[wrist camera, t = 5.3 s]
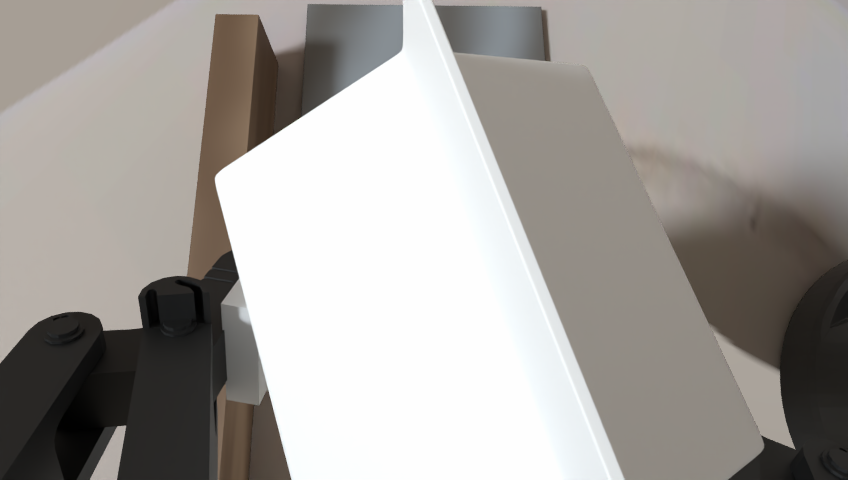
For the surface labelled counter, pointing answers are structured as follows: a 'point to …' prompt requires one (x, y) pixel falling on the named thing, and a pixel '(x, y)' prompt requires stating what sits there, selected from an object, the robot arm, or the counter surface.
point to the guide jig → (323, 78)
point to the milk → (474, 284)
